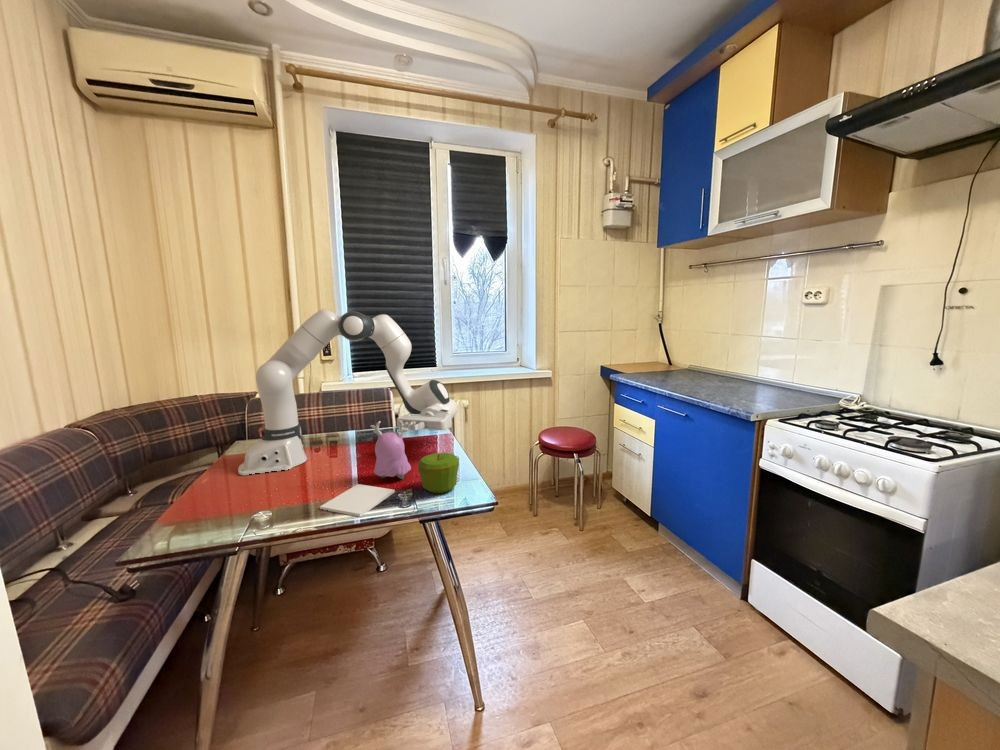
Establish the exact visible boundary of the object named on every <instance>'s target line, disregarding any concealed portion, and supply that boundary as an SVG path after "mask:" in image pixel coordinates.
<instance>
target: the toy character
mask: <svg viewBox="0 0 1000 750" xmlns="http://www.w3.org/2000/svg"><path fill="white" fill-rule="evenodd" d="M398 422H399V424H400V427H399V431H398V432H395V431H387V432H382V431H381V430H380V425H381V421H380V420H379V421H378V422H376V425H375V424H373V425H372V424H370V426H369V427H370V428H372V429H373V430H372V432H373V433H374V434H377V435H376V436H377V441H376V443H375V446H374V452H375V457H376V460H375V463H374V465H375V466H374V469H373V474H374V475H376V476H378V477H380V478H381V479H382V480H384V479H386V478H387V477H393V478H394V477H395V476H396V477H397V478H399V479H400V480H403V479H404V478H405V474H407V473H408V472H410V471H411V469H412V467H411V464H410V462H409V461H408V457H407V455H406V453H405V442H404V439H403V433H404V432H405V433H406V432H408V431H409V429H408V430H407V429H406V428H405V426H407V425H408V422H405V423H404V424H403V423H402V421H400V420H398Z"/></svg>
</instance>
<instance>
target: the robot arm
mask: <svg viewBox="0 0 1000 750" xmlns="http://www.w3.org/2000/svg"><path fill="white" fill-rule="evenodd" d="M338 336H342V337H343V338H345V340H349V341H351V342H358V341H362V340H364V339H365V338H369V339H371V340H373V341H374V343H375V344H376V345H377V346H378V347H379V348H380V350H381V352H382V353H383V355H384V358H385V363H384V366H385V370H386V372H387V373H388V376H389V378H390V379H391V381H392V383H393V385H394V387H395V389H396V390H397V392H398V394H399V396H400V398H401V400H402V402H403V406H404V407H405V410H406V411H407V412H408V413H407V414H404V415H401V416H398V417H397V418H396V426H397V428H400V424H399V422H398V420H400V421H402V423H403V424H404V423H405V422H408V425H407V426H405V428H404V429H408V431H410V430H411V431H418V430H427V431H446V430H447V429H451V428H452V424H453V422H452V421H453V418H454V417H455V416H456V415H457V413H458V405H457V403H456V401H455V400H454V399H452V398H450V393H449V391H448V388H447V387H446V386H445V384H443V383H442V382H441V381H439V380H436V379H431V380H429V381H427V382H425V383H424V384H422V385H421V386H419V387H418V388H416V389H414V388H412V387H411V384H410V383H409V381H408V379H407V377H406V375H405V374H404V367H405V363H406V362H407V360H409V358H410V355H411V352H412V349H413V348H412V346H413V345H412V342H411V340H410V339H409V337H408V336H407V334H406V333H405V331H404V330H403V329H402V328H401V327H400V326H399V325H398V323H397V322H396V321H395V320H394V319H393V318H392V317H391V316H389V315H388V314H385V313H384V314H383V313H382V314H378V315H376V316H374V317H370V316H368V315H366V314H364V313H361V312H360V311H354V310H352V311H347V312H345V313H343V314H342V315H338V314H336V313H335V312H333V311H332V310H329V309H327V308H324V309H322V308H321V309H320V310H318V311H317V312H315V313H313V314H312V315H311V316H310V317H309V318H307V319H306V320H305V321H304V322H303V323H302V324H301V325H300V326H299V327H298V328H297V329H296V330H295V331H294V332H293V333H292V334H291V335H290V337H288V338H287V339H286V341H285V342H284V343H283V344H282V345H281V346H280V347H279V349H277V350H276V351H275V353H274V354H272V356H271V357H270V358H269V359H268V360H267V361H265V363H263V364H261V366H259V367H258V369H257V370H256V371H255V372H256V374H255V381H256V382H255V383H256V386H257V387H256V388H257V390H258V391H257V392H258V395H259V398H260V403H261V407H262V414H263V421H264V427H263V426H262V427H260V428H258V434H259V440H258V441H256V442H255V443H254V444H253V445H252V446H250V448H248V449H247V451H246V452H245V455H244V461H243V462H242V463H241V464H240V465H239V466H238V469H237V473H238V475H240V476H250V475H249V474H252V475H256V474H255V473H260V474H266V473H265V472H269V473H272V472H271V471H277V472H282V471H281V470H285V471H288V469H289V470H291V469H292V468H294V467H296V466H299V465H301V464H303V463H305V462H306V461H307V460H308V456H307V455H306V453H305V452H306V451H305V450H304V446H303V443H302V428H301V424H300V423H299V415H298V405H297V401H296V396H295V392H294V386H293V380H295V378H296V377H298V375H300V373H301V372H302V371H303V370H304V369H305V368H306V367H307V366H308V365H309V364H310V363H312V361H313V360H314V359H315V358H316V357H317V356H318V355H319V354H320V353H321V352H322V351H323V349H324V348H325V347H326V346H327V345H328V344H329V343H330V342H332V340H333V339H334V338H336V337H338Z"/></svg>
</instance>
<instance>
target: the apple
mask: <svg viewBox="0 0 1000 750" xmlns="http://www.w3.org/2000/svg"><path fill="white" fill-rule="evenodd" d="M459 466H460V458H459V457H458V456H456V455H455V454H454V453H452V452H451V453H450V452H436V453H432V454H428V455H425V456H423V457H421V458H420V460H419V461H418V464H417V471H418V473H419V474H418V475H419V476H420V480H421V485H422V488H423V489H424V490H426V491H428V492H430V493H432V494H444V492H445V493H447V491H448V492H450V491H451V490H452V489H453V488H455V486H456V485H457V484H458V471H459Z"/></svg>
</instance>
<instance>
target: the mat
mask: <svg viewBox="0 0 1000 750" xmlns="http://www.w3.org/2000/svg"><path fill="white" fill-rule="evenodd" d="M395 493H396V490H395V489H392V488H385V487H378V486H373V485H365V484H361V483H360V484H359V483H358V484H356V485H354V486H352V487H351V488H349V489H347V490H346V491H344V492H342V493H340V494H339V495H337V496H335V497H334V498H332V499H330V500H328V501H326V502H325V503H323V504H322V505H320V506H319V509H320V510H322V509H323V511H327V510H328V512H333V513H338V514H344V515H348V516H355V517H362V516H363V515H365V514H366V513H368V512H370V510H372V509H374V508H375V507H376V506H377V505H379V504H380V503H382V502H383V501H384V500H386V499H387V498H389V497H390V496H391V495H393V494H395Z"/></svg>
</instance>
